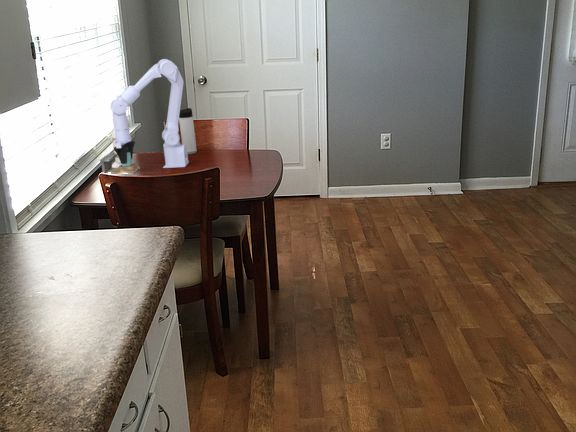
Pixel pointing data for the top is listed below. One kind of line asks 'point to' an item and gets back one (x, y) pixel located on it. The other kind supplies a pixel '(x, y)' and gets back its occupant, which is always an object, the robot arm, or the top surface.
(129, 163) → the peg
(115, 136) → the bath foam
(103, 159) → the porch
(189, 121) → the travel mug
